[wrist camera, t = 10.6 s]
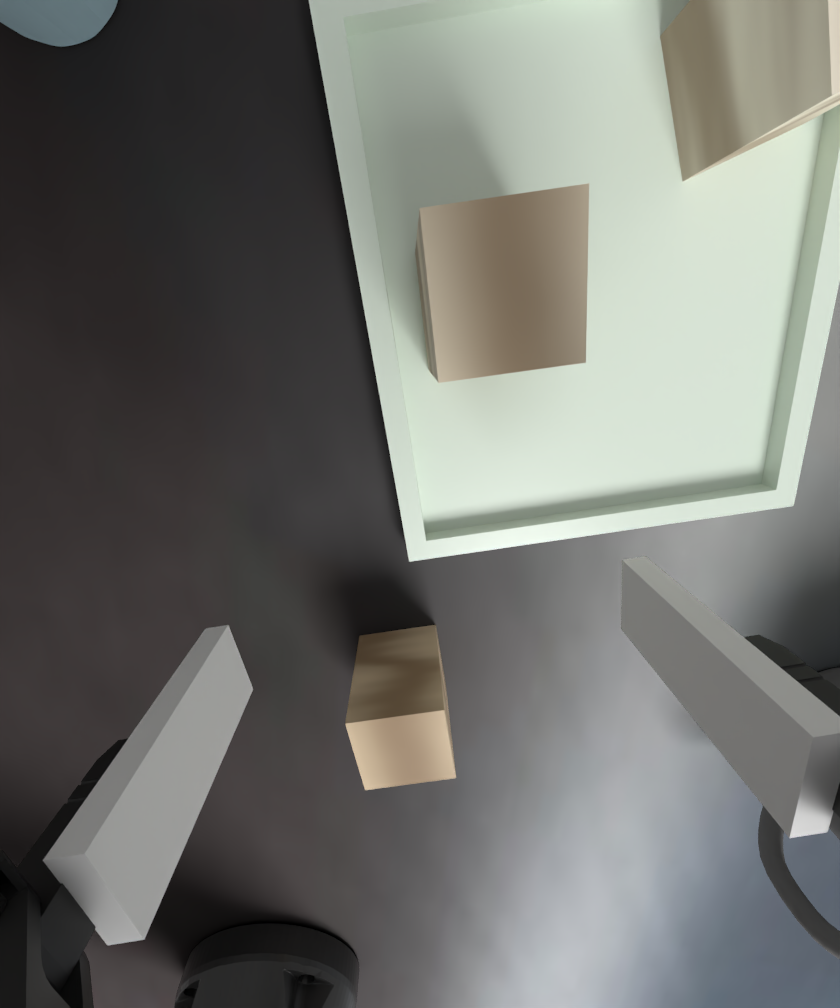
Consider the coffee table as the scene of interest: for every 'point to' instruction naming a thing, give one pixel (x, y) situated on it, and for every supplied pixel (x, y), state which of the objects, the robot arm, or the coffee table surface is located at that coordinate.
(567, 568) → the coffee table surface
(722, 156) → the maple block
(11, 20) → the cup
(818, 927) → the mug
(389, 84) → the tray
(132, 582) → the coffee table surface
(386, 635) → the oak block
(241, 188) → the coffee table surface
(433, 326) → the beech block
